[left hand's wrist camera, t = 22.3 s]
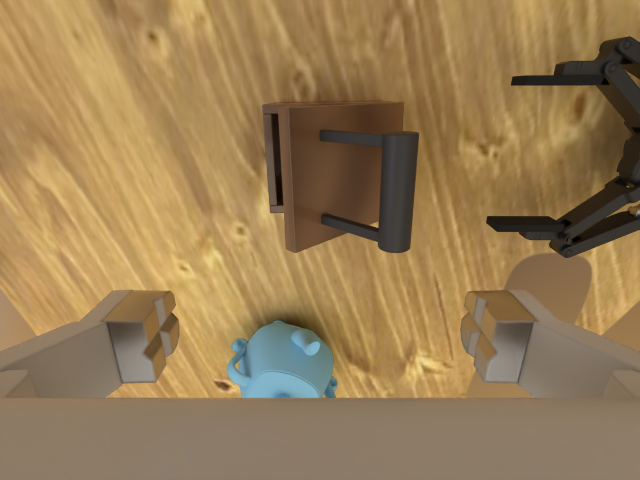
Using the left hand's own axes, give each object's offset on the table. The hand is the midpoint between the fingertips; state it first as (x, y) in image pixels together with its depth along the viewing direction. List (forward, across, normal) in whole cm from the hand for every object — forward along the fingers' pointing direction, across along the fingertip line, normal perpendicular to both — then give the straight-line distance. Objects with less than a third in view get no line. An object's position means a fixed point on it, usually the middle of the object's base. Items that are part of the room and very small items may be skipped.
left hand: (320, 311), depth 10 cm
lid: (+21, +2, 0) cm, 21 cm away
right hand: (+27, +18, 0) cm, 32 cm away
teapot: (+34, -4, -27) cm, 44 cm away
